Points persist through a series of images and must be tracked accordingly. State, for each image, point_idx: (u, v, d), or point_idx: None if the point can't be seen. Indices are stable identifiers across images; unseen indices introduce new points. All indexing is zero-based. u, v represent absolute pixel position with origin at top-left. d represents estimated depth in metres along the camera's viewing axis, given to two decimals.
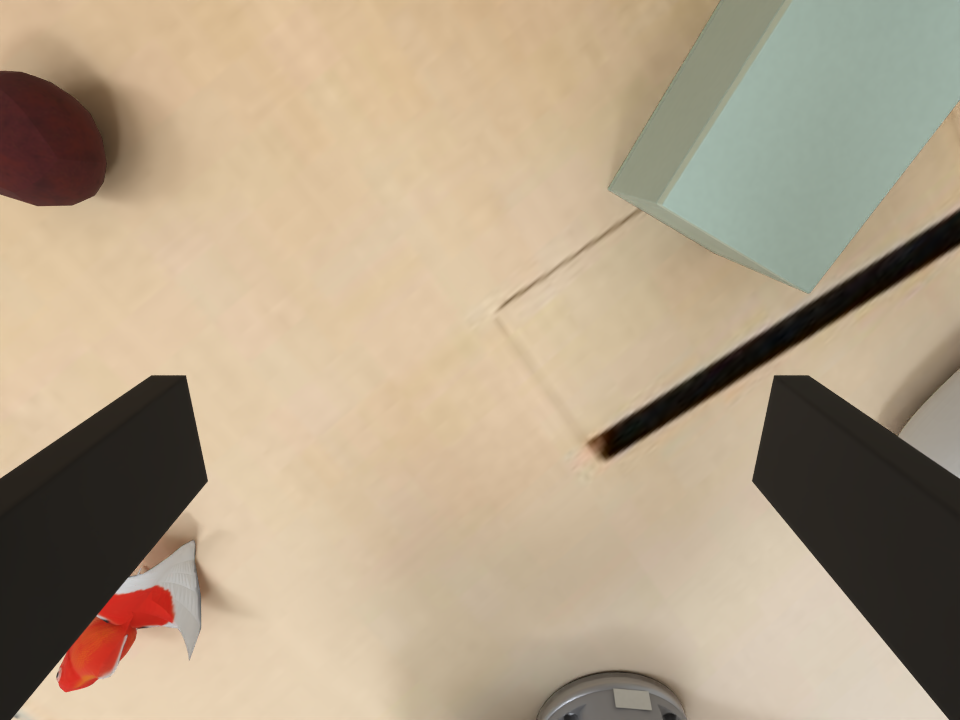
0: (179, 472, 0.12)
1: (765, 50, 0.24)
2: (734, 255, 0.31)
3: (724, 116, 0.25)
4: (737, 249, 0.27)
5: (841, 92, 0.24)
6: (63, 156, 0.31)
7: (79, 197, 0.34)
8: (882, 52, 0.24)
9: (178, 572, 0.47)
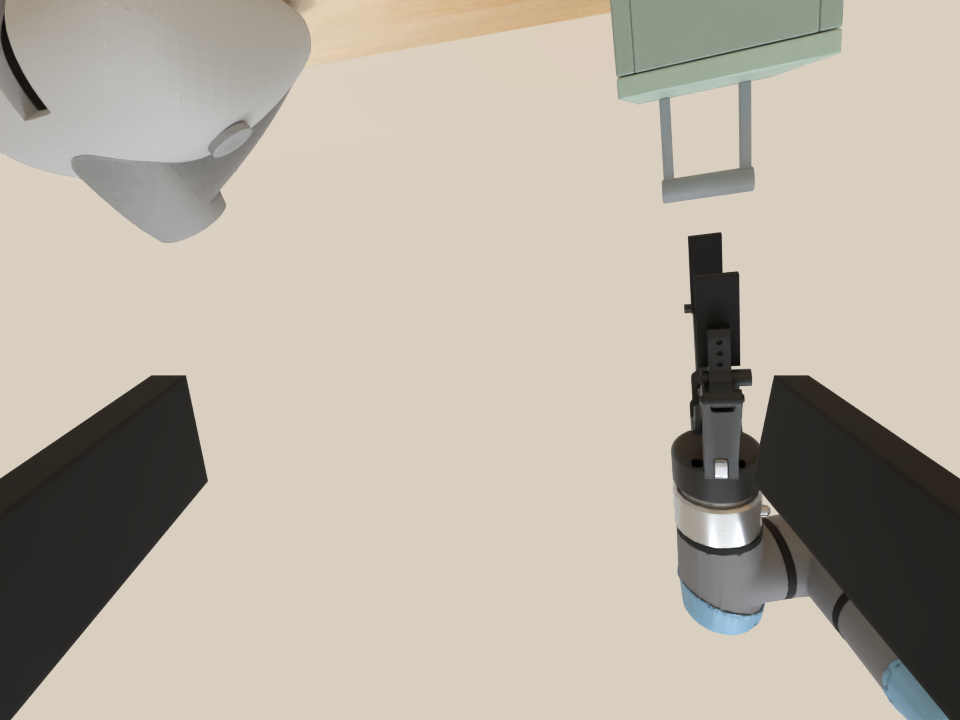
0: (179, 472, 0.12)
1: (798, 66, 0.30)
2: None
3: None
4: (724, 77, 0.25)
5: (717, 83, 0.31)
6: None
7: None
8: (706, 87, 0.33)
9: None
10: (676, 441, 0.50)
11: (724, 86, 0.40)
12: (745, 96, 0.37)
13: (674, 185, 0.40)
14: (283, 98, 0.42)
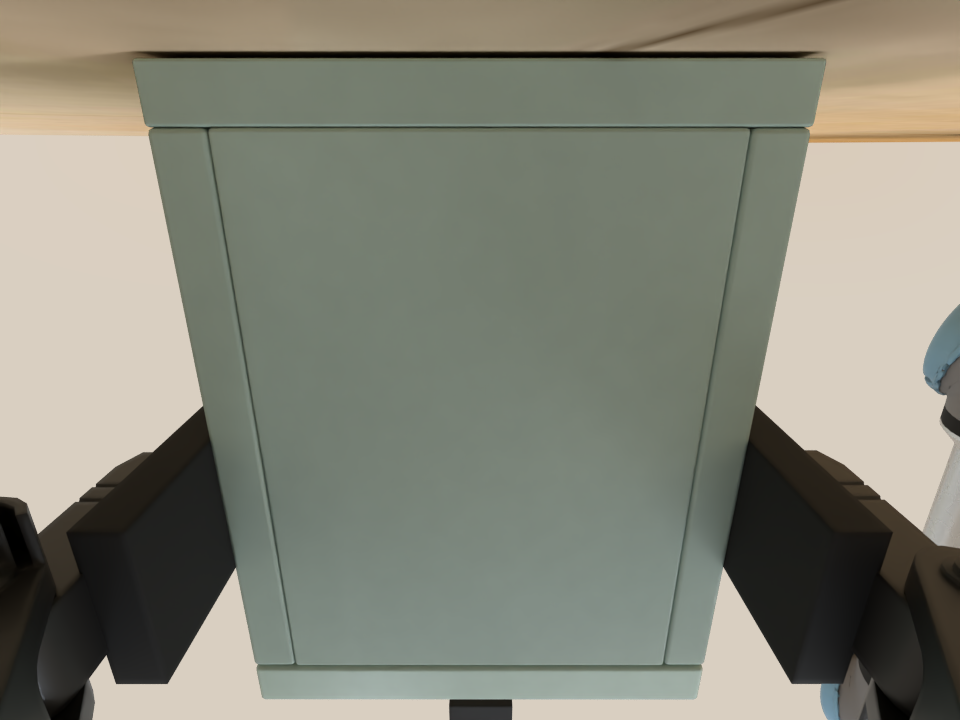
0: None
1: None
2: (384, 563, 0.10)
3: None
4: (482, 697, 0.12)
5: None
6: None
7: None
8: None
9: None
10: None
11: None
12: None
13: None
14: None
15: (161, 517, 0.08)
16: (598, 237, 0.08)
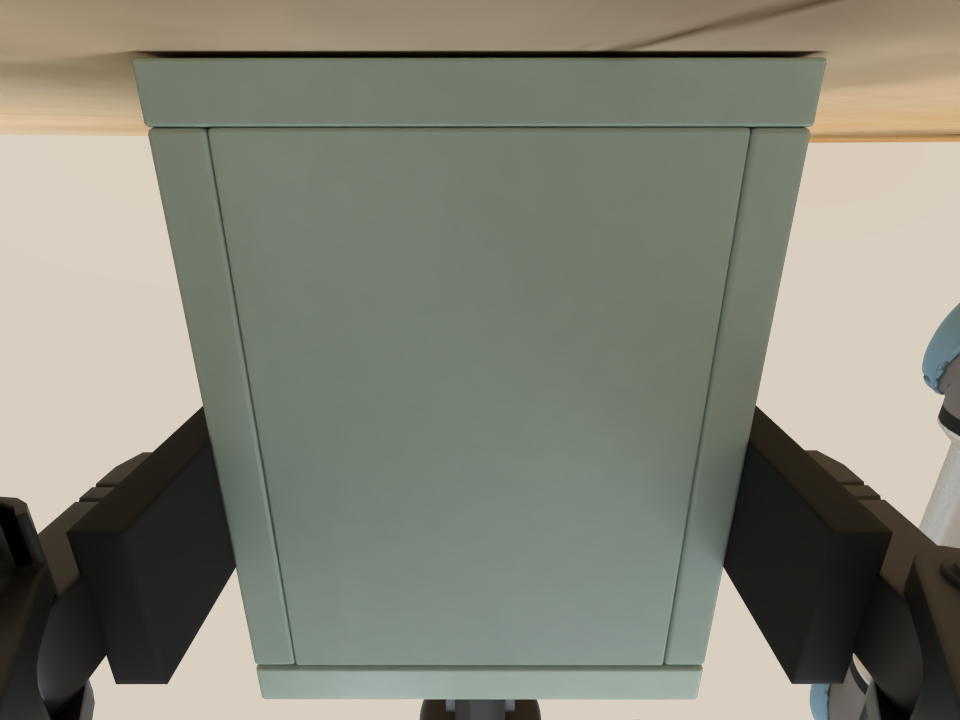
0: None
1: None
2: (384, 564, 0.10)
3: None
4: (482, 697, 0.12)
5: None
6: None
7: None
8: None
9: None
10: None
11: None
12: None
13: None
14: None
15: (161, 517, 0.08)
16: (598, 237, 0.08)
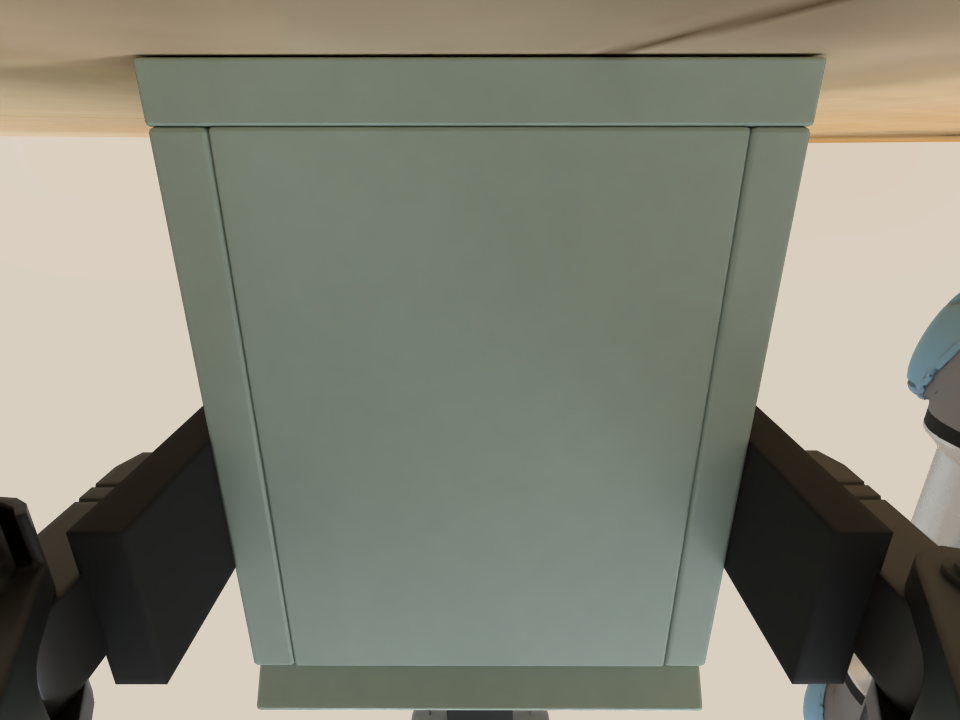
0: None
1: None
2: (384, 564, 0.10)
3: None
4: (482, 709, 0.11)
5: None
6: None
7: None
8: None
9: None
10: None
11: None
12: None
13: None
14: None
15: (161, 517, 0.08)
16: (598, 236, 0.08)
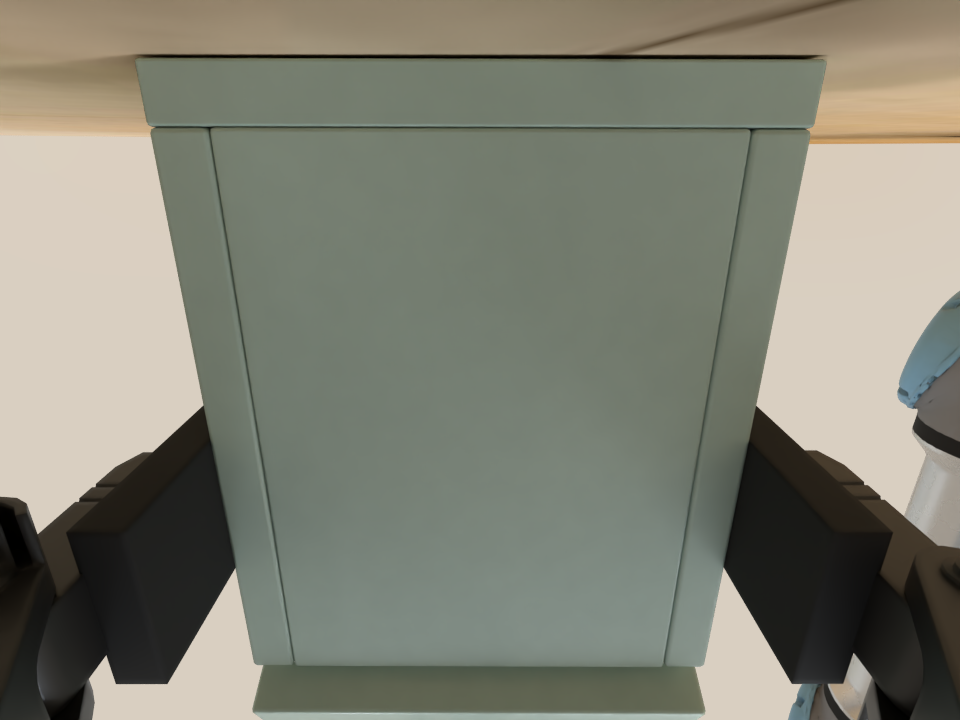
0: None
1: None
2: (384, 564, 0.10)
3: None
4: (482, 713, 0.11)
5: None
6: None
7: None
8: None
9: None
10: None
11: None
12: None
13: None
14: None
15: (161, 517, 0.08)
16: (599, 237, 0.08)
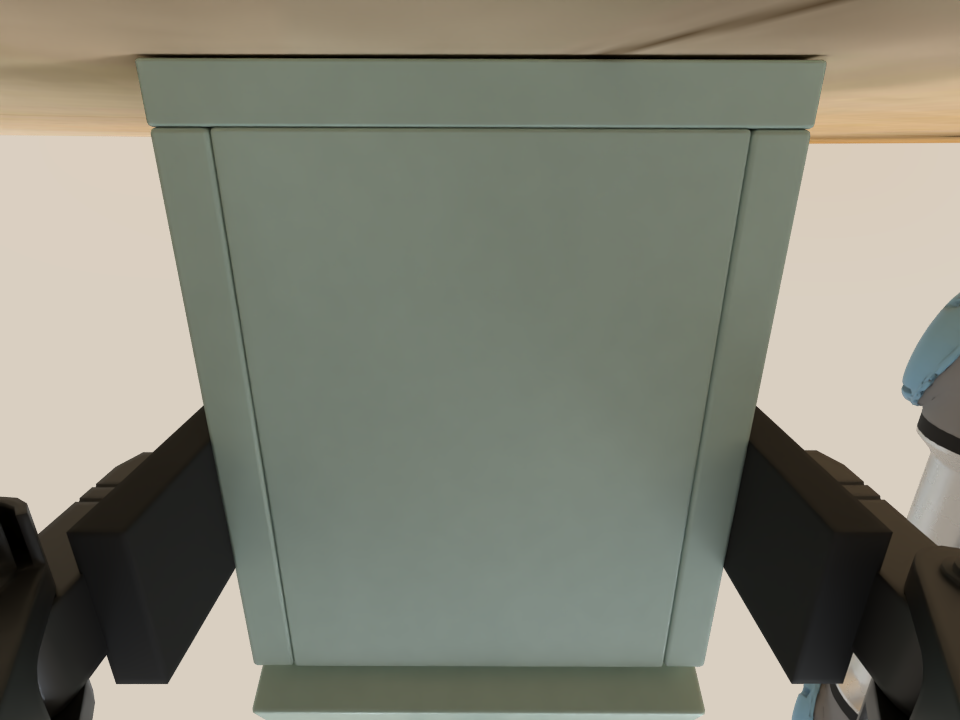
0: None
1: None
2: (384, 564, 0.10)
3: None
4: (481, 713, 0.11)
5: None
6: None
7: None
8: None
9: None
10: None
11: None
12: None
13: None
14: None
15: (161, 517, 0.08)
16: (599, 238, 0.08)
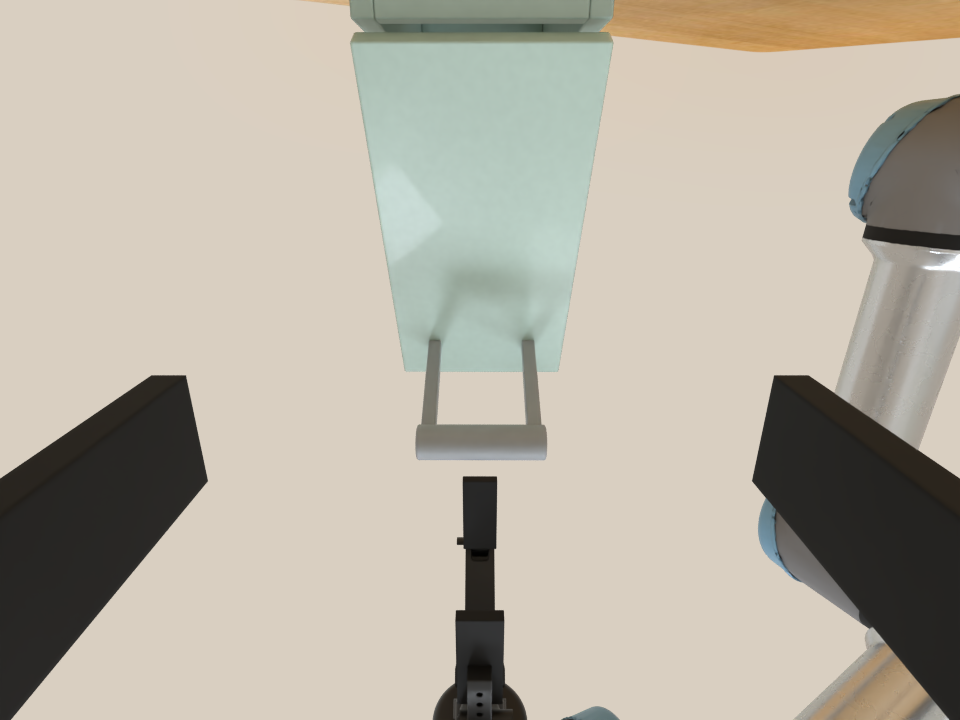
0: (179, 472, 0.12)
1: (578, 224, 0.25)
2: None
3: (587, 163, 0.22)
4: (483, 43, 0.19)
5: (489, 230, 0.25)
6: None
7: None
8: (478, 265, 0.26)
9: None
10: (439, 706, 0.44)
11: (507, 369, 0.32)
12: (529, 352, 0.30)
13: (434, 426, 0.26)
14: None
15: None
16: None
